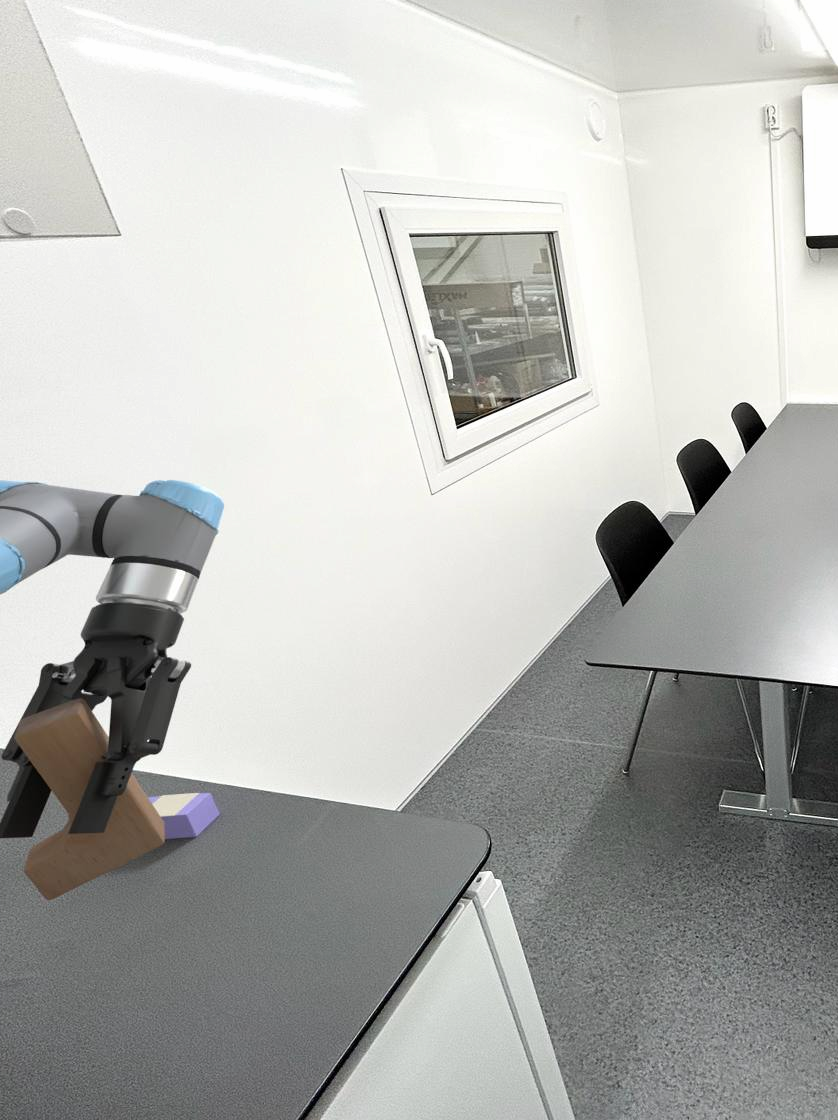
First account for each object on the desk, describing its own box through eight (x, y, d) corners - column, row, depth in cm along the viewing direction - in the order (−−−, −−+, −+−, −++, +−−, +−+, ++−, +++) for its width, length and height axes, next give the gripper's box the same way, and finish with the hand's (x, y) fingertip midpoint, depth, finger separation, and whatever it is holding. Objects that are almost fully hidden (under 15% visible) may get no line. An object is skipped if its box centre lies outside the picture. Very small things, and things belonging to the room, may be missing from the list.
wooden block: (46, 903, 63) (-64, 764, 56) (52, 878, 66) (-52, 743, 59) (166, 844, 68) (78, 712, 62) (166, 823, 71) (82, 695, 65)
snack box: (120, 842, 85) (108, 820, 84) (147, 819, 89) (136, 797, 88) (196, 837, 86) (185, 814, 84) (220, 814, 90) (210, 791, 88)
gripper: (253, 614, 75) (184, 828, 65) (87, 623, 74) (-9, 840, 64) (200, 595, 68) (114, 830, 58) (16, 604, 67) (-103, 843, 57)
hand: (50, 835), depth 61 cm, fingers closed on wooden block, 6 cm apart
